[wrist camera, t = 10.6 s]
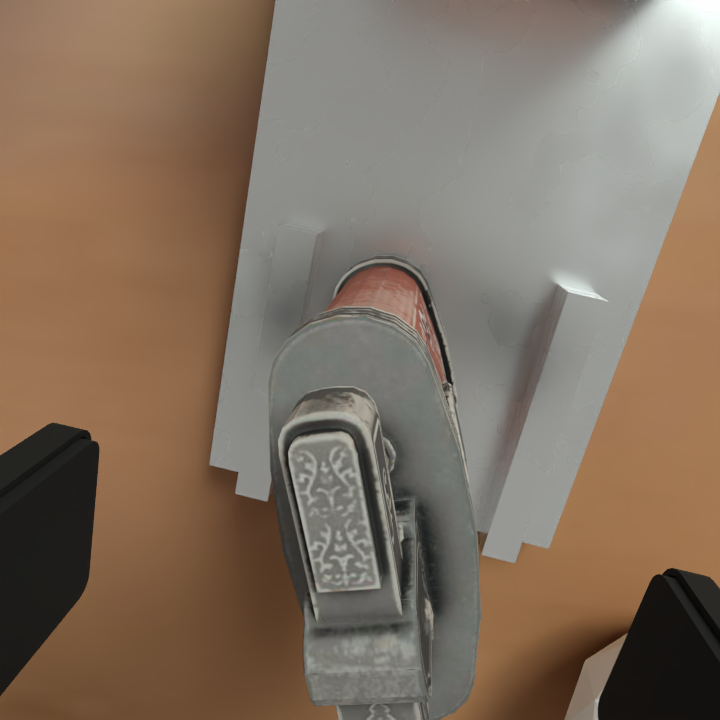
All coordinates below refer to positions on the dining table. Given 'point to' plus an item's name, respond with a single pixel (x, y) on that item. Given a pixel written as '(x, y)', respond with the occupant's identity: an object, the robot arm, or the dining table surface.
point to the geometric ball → (593, 682)
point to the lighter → (377, 500)
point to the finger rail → (472, 210)
